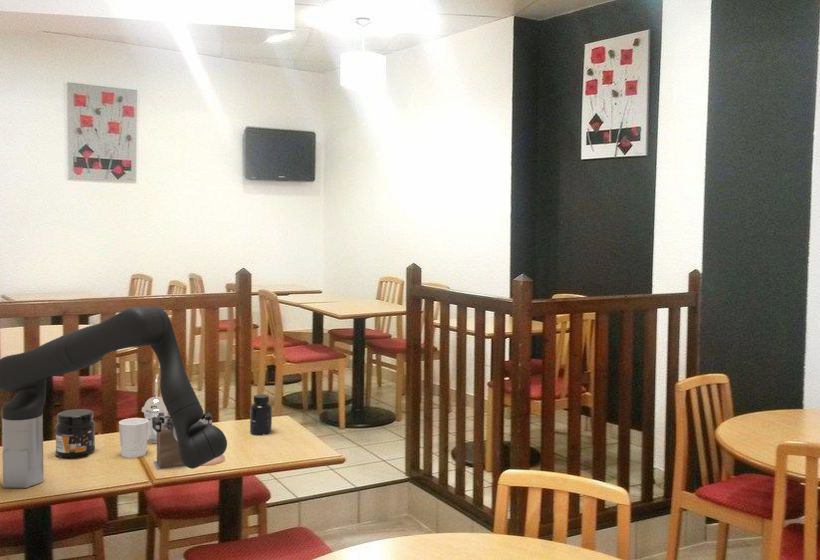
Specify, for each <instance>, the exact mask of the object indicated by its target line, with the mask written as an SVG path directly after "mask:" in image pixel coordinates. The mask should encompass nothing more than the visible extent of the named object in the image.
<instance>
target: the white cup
mask: <svg viewBox="0 0 820 560" xmlns="http://www.w3.org/2000/svg"><path fill="white" fill-rule="evenodd" d="M118 429H119V443H120V445H119V446H120V455H121V457H123V458H129V459H130V458H132V459H133V458H139V457H144V456H145V455H146V454H147V446H148V420H147V419H145V417H144V418H143V417H131V418H130V417H129V418H125V419H121V420H119V421H118Z"/></svg>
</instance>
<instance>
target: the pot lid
mask: <svg viewBox="0 0 820 560" xmlns="http://www.w3.org/2000/svg"><path fill="white" fill-rule="evenodd" d="M225 460H226V459H225V455H224V454H222V455H221V456H219V457H217V458H214V459H213V460H211V461H209V462H207V463H205V464H203V465H201V466H200V467H206V466H215V465H219V464H221V463H223V462H224V461H225Z"/></svg>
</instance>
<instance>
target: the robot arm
mask: <svg viewBox="0 0 820 560" xmlns="http://www.w3.org/2000/svg"><path fill="white" fill-rule="evenodd" d="M147 346H150V348H152V350H153V351H154V354H155V356H156V358H157V360H158V363H159V364H158V365H159V369H160V370H159V372H160V379H159V380H160V381H159V382H160V384H159V385H160V386H159V387H160V394H161V396H160V397H162V399H163V402H164V404H165V406H166V409H167V411H168V415H167V416H164V415H163V413H160V415H158V416H157V417H153V418H152V428H153V429H154V430H155V431H156V432H161V430H162V428H166V429H168V430H171V433H172V434H173V436H174V438H175V439H176V440H177V442H178V449H179V456H180V459H181V461H182V463H183V464H184V465H185V466H186V467H185V468H188V469H196V468H199V467H202V466H201V465H203V464H205V463H207V462H209V461H211V460H213V459H214V458H217V457H219V456H221V455H224V453H225V452H226V451H227V448H228V439H227V437H226V435H225V434H224V432H223V430H221V429H220V428H219V427H218V426H215V425H213V416H212V414H211V413H210V411H205V412H204V410H203V406H202V405H201V403H200V401H199V398H198V396H197V394H196V393H195V390H194V388H193V386H192V384H191V382H190V380H189V376H188V375H187V371H186V368H185V366H184V361H183V358H182V356H181V355H182V354H181V352H180V348H179V345H178V342H177V337H176V334H175V331H174V328H173V325H172V321H171V318H170V317H169V314H168V313H167V311H165V309H163V308H162V307H159V306H155V305H147V306H146V305H145V306H133V307H129V308H126V309H124V310H122V311H120V312H119V313H117V314H115V315H113V316H111V317H110V318H107V319H106V320H104V321H102V322H100V323H97V324H92V325H89V326H86V327H82V328H80V329H76V330H73V331H71V332H68V333H65V334H64V335H61V336H59V337H57V338H55V339H52V340H50V341H47V342H45V343H43V344H40V345H39V346H37V347H35V348H33V349H31V350H27V351H25V352H20V353H16V354H10V355H6V356H3V357H1V358H0V390H1V391H4V392H8V393H14V392H16V394H15V395H14V397H13V398H12V399H11V400H10V401H8V402H7V403H5V405H4V406H2V409H1V412H2V413H1V415H2V416H1V420H2V425H1V426H2V430H1V431H2V453H1V454H2V455H1V457H2V460H1V461H2V488H6V489H7V488H14V489H18V488H19V489H26V488H29V487H32V486H35V485H39V484H40V483H42V482H43V481H44V479H45V477H44V476H45V475H44V474H45V473H44V471H45V470H44V417H43V416H44V415H43V414H44V413H43V410H44V407H45V405H46V404H45V403H46V400H47V395H46V394H47V393H46V392H47V378H48V377H55V376H60V375H65V374H69V373H70V374H71V373H74V372H77V371H79V370H83V369H86V368H88V367H91V366H93V365H95V364H97V363H98V362H100V361H101V360H102V359H103V358H104V357H105V356H106V355H107V354H109V353H112V352H115V351H116V352H117V351H119V350H123V349H129V348H139V347H147Z"/></svg>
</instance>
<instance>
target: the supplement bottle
mask: <svg viewBox="0 0 820 560" xmlns="http://www.w3.org/2000/svg"><path fill="white" fill-rule="evenodd" d="M269 402H270V396H269V395H267V394H256V395H254V396H253V403H252V404H251V405H250V409H249V410H250V411H249V415H250V418H249V421H250V422H249V423H250V424H249V427H250V429H249V430H250V431H249V432H250V433H251V434H252V435H254V436H264V435H263V434H266V435H269V434H271V433H272V428H273V427H272V425H273V422H272V421H273V420H272V419H273V417H272V416H273V407H272V404H270V403H269ZM270 432H271V433H270ZM268 433H269V434H268Z"/></svg>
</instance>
